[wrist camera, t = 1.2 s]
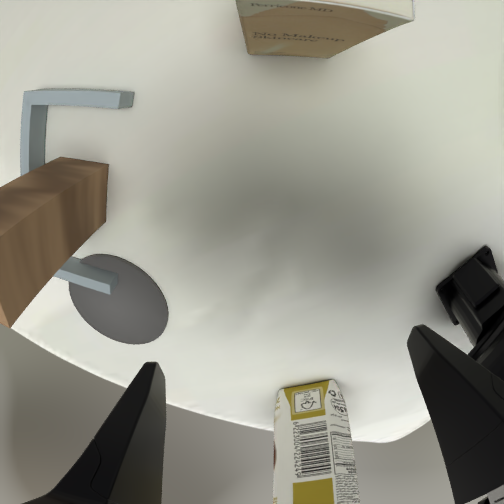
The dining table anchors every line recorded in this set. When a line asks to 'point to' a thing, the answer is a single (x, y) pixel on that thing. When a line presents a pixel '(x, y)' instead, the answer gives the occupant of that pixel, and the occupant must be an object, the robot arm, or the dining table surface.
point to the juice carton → (313, 447)
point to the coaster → (122, 303)
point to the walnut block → (46, 226)
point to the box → (317, 24)
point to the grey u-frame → (35, 151)
